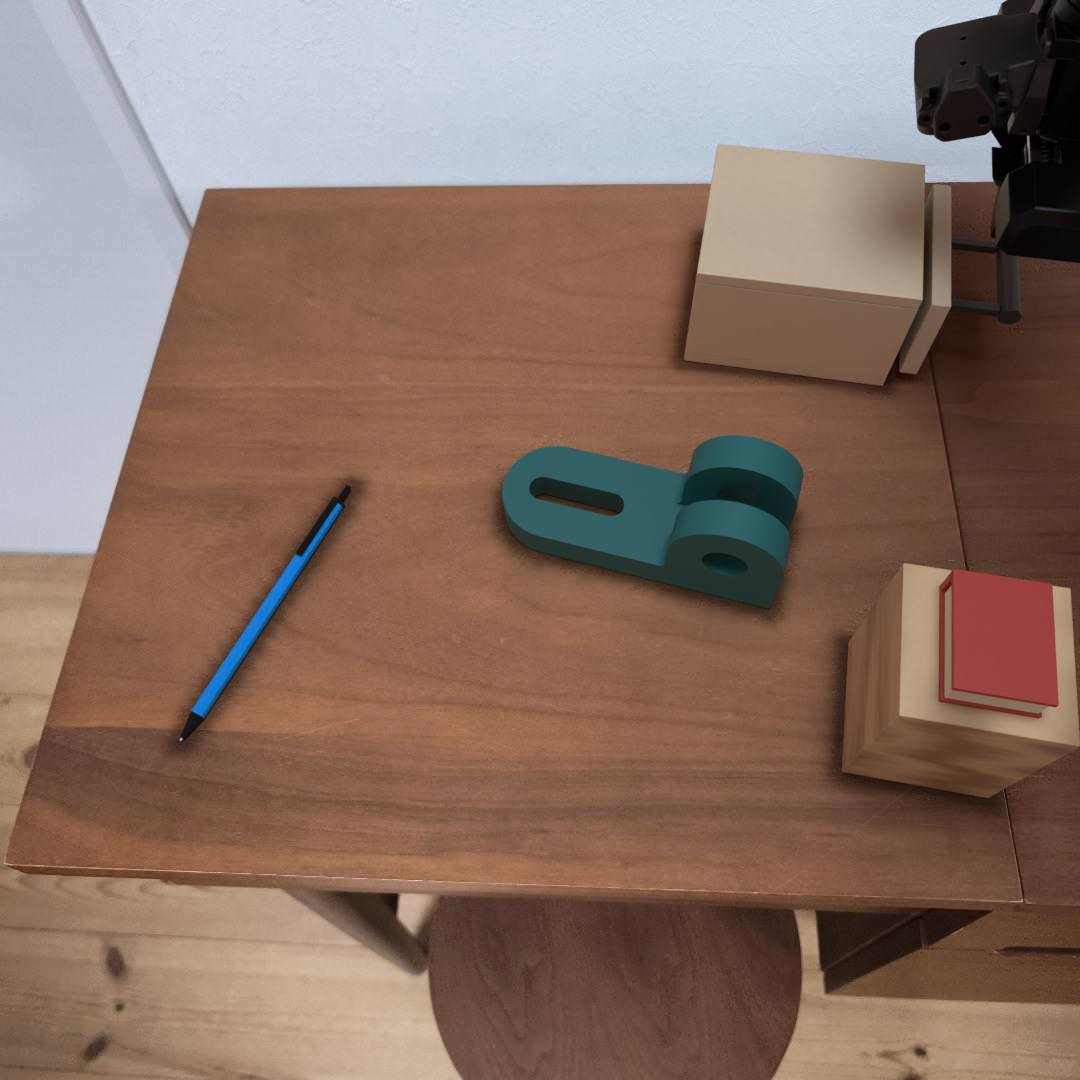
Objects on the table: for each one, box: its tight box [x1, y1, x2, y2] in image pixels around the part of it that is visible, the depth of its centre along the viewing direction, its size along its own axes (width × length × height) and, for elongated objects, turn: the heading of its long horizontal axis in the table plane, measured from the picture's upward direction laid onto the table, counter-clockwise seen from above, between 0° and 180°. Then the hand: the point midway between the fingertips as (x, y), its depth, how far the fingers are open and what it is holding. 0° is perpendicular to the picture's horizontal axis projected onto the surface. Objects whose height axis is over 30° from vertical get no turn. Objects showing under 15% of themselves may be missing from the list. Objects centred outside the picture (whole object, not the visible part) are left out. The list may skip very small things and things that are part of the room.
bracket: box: [501, 434, 804, 610], centre depth 58 cm, size 18×7×8 cm, turn 73°
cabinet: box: [683, 143, 926, 387], centre depth 65 cm, size 14×12×9 cm
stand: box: [841, 562, 1080, 799], centre depth 50 cm, size 8×8×11 cm
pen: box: [179, 484, 352, 742], centre depth 59 cm, size 1×19×1 cm, turn 153°
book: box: [939, 568, 1059, 718], centre depth 44 cm, size 4×6×2 cm
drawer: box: [898, 183, 1023, 375], centre depth 64 cm, size 18×11×7 cm, turn 79°
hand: (998, 234), depth 59 cm, fingers closed
